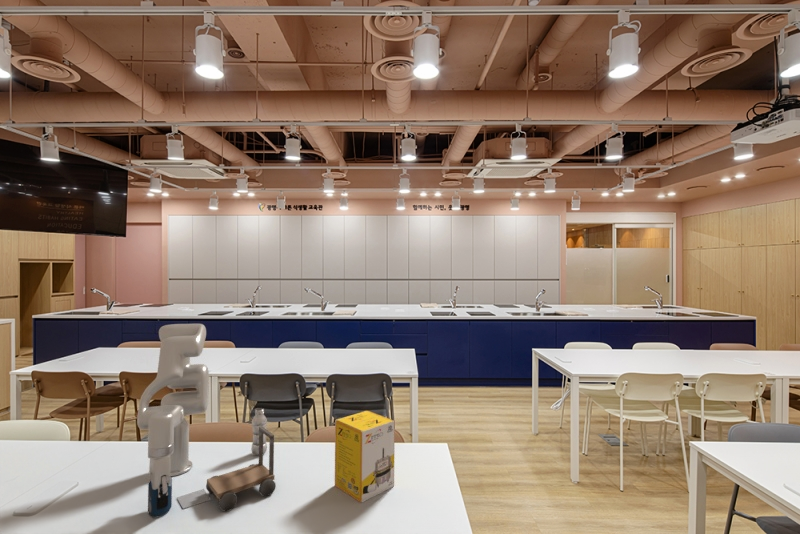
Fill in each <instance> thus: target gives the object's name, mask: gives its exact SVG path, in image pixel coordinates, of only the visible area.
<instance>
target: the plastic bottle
mask: <svg viewBox="0 0 800 534" xmlns="http://www.w3.org/2000/svg"><path fill="white" fill-rule="evenodd" d="M254 410H255V411H254V414H255V415H254V416H253V418H252V420H251V428H252V442H251V443H252V444H251V450H250V451H251V453H252V455H253V456H259V427H264V428H265V429H266V430H267V424H268V419H267V417H266V415H265V414H264V413H265V408H262V407H257V408H255V409H254ZM266 437H267V436H266V435H265V434H263V455H264V454H266V452H267V450H268V449H267V448H268V446H267V439H266Z"/></svg>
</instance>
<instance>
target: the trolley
mask: <svg viewBox="0 0 800 534" xmlns="http://www.w3.org/2000/svg"><path fill="white" fill-rule="evenodd" d="M263 434H265V436H266V437H267V438H269V441H268V442H269V443H268V444H269V447H268V449H269V451H268V452H269V455H268V456H269V457H268V463H269V464H268V467H269V468H267V467H266V466H265V465H264V463H263V462H264V454H263ZM274 449H275V434H274V433H272V432H271V431H269V430H268V429H267V428H266V429H265V428H264V427H259V455H258V463H256V464H255V463H254V464H250V465H248V466H246V467H243V468H239V469H236V470H232V471H230V472H226V473H223V474H220V475H213V476H212V477H210V478H207V479H206V485H205V488H206V490H207V492H208V493H210V494H214V496H215V497H216V498H217V499H219V500H218V507H219V508H220V510H222V511H223V512H228V511H231V510H232V509H233V508H235V505H236V504H237V502H238V497H237V495H236V493H239V492H243V491H245V490H247V489H250V488H253V487H256V486H259V487H258V491H259V493H260V495H261V496H263V497H269V496H271V495H272V494H274V493H275V492H274V491H275V490H276V488H277V487H276V482H275V474H274V471H275V470H274V466H275V465H274V462H275V459H274V458H275V457H274V455H275V453H274V452H275V450H274Z"/></svg>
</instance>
